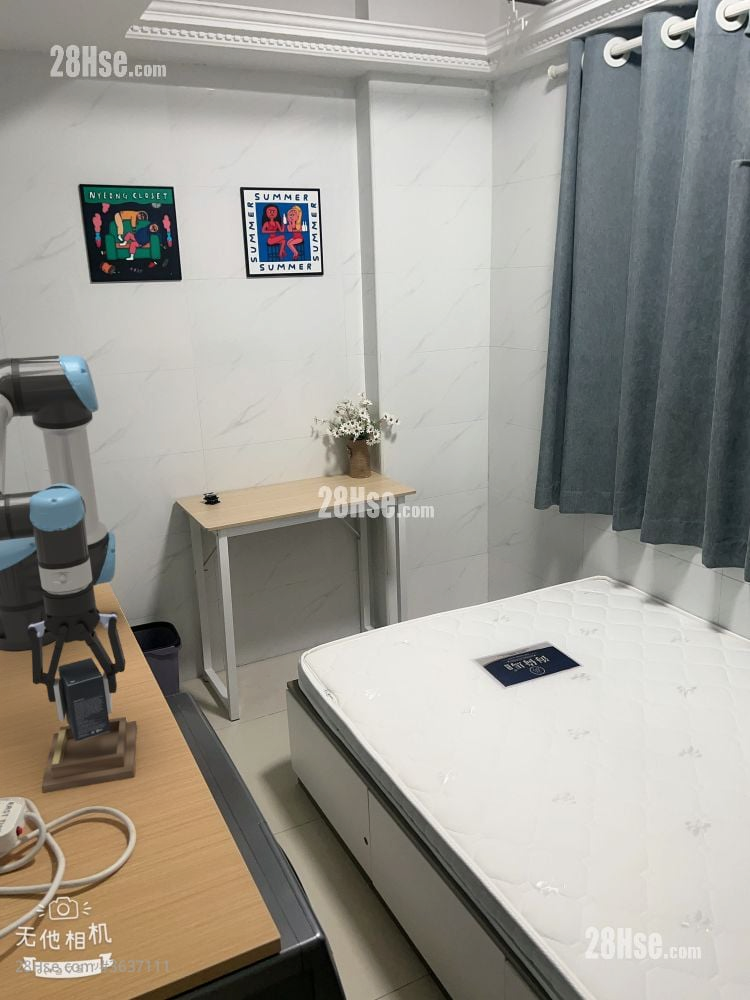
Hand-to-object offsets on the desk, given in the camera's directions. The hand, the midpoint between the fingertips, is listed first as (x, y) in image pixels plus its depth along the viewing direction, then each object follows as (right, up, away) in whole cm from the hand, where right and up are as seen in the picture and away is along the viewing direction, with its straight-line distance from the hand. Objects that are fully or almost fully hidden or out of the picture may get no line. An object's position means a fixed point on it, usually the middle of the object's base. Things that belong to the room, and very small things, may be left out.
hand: (86, 712), depth 126 cm
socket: (0, -8, +3) cm, 9 cm away
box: (0, -3, +1) cm, 3 cm away
